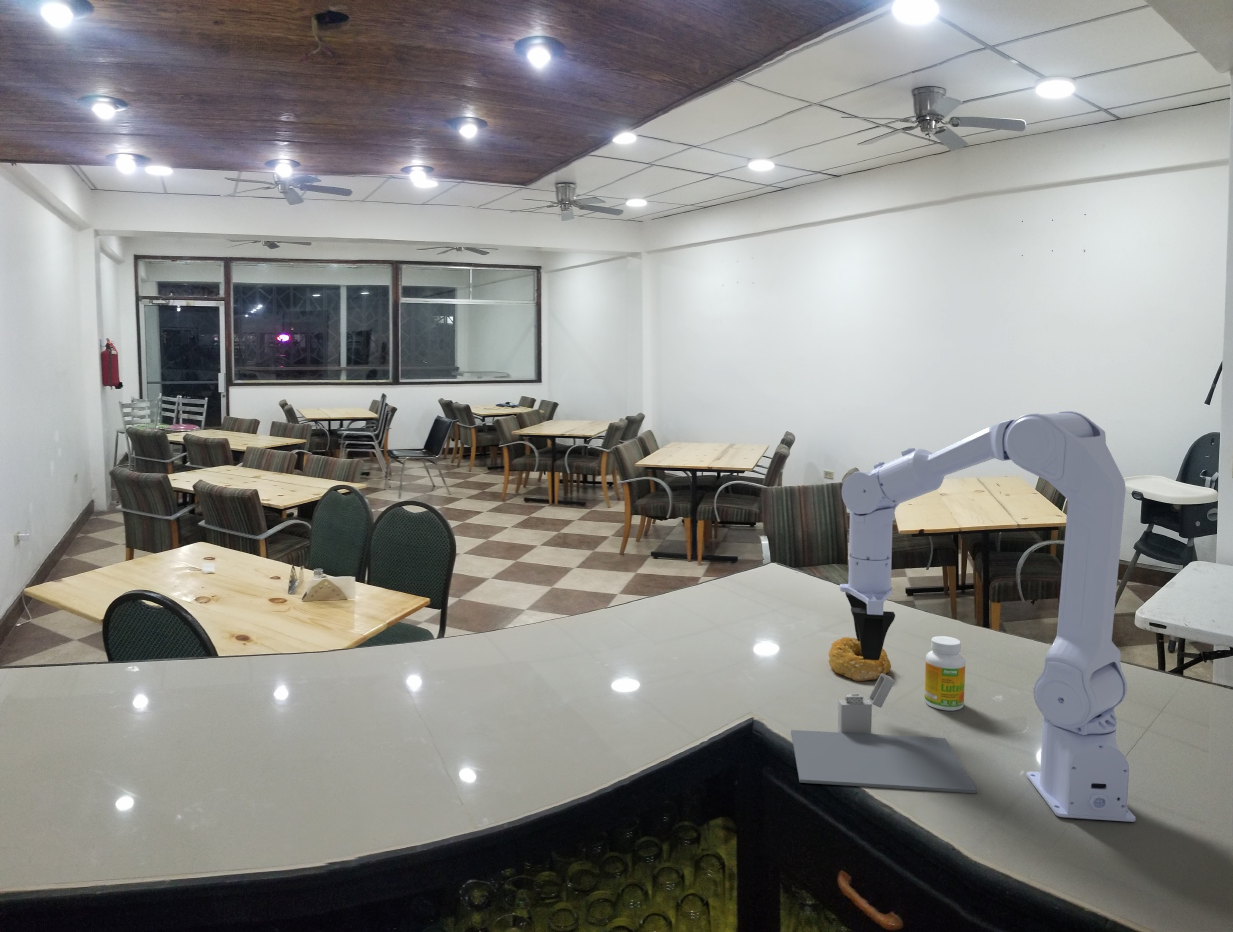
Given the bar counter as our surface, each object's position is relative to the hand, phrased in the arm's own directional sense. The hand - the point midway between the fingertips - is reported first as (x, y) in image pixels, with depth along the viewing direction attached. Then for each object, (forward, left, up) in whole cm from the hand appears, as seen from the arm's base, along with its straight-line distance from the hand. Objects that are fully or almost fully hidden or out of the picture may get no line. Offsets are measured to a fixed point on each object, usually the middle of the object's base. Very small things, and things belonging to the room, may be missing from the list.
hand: (867, 649), depth 112 cm
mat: (-14, +1, -10) cm, 17 cm away
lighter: (-6, +1, -10) cm, 11 cm away
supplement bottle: (+5, -12, -10) cm, 16 cm away
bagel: (+18, -2, -10) cm, 20 cm away
